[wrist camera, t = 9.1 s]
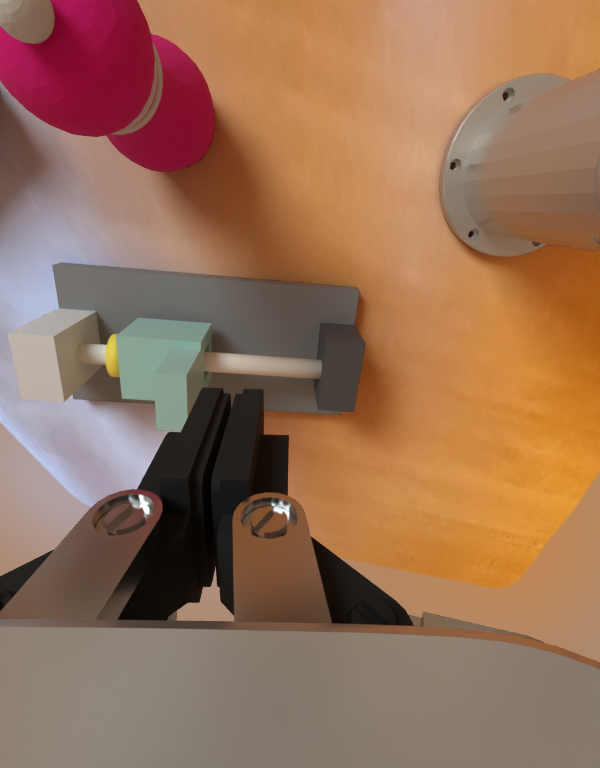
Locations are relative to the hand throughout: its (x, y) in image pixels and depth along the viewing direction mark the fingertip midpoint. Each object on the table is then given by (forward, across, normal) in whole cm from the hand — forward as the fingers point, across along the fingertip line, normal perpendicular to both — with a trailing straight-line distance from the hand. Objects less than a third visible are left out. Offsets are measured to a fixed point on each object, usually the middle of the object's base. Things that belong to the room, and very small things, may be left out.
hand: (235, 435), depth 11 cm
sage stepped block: (+23, +8, +6) cm, 25 cm away
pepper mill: (+26, +8, -11) cm, 29 cm away
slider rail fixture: (+26, +6, +6) cm, 27 cm away
